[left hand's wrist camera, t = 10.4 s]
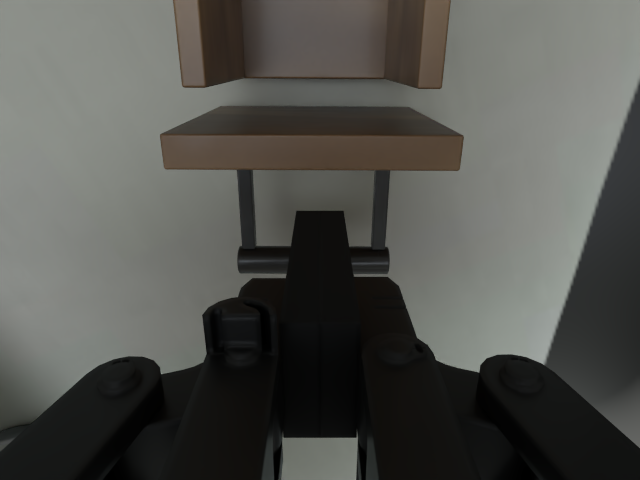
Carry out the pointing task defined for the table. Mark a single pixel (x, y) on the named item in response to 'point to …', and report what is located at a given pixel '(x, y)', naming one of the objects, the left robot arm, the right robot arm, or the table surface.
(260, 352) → the left robot arm
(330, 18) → the drawer
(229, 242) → the table surface
